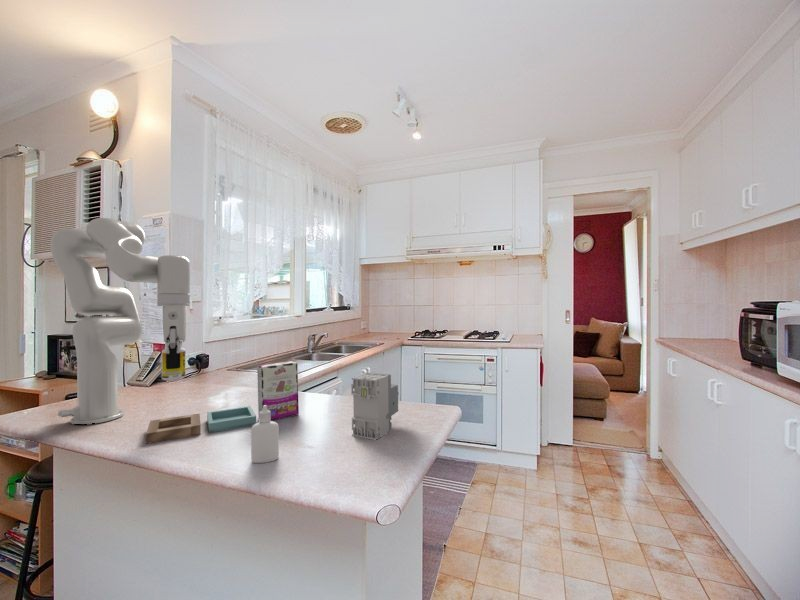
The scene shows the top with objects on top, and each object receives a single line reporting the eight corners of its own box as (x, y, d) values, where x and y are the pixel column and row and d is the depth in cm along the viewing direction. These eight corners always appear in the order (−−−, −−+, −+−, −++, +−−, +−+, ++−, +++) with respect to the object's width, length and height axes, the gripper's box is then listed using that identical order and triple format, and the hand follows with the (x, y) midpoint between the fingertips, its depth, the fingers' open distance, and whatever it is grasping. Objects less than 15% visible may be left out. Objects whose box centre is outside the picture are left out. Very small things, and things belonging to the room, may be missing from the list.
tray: (209, 432, 97) (209, 423, 97) (207, 420, 107) (207, 412, 107) (256, 424, 103) (256, 416, 103) (250, 413, 113) (250, 406, 113)
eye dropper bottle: (260, 454, 82) (259, 402, 82) (282, 456, 81) (281, 403, 81) (247, 462, 78) (247, 407, 78) (270, 465, 77) (270, 409, 77)
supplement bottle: (187, 379, 98) (187, 341, 98) (162, 382, 94) (162, 343, 94) (183, 375, 102) (183, 340, 102) (160, 378, 99) (160, 341, 99)
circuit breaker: (400, 422, 103) (400, 370, 103) (377, 440, 90) (376, 380, 90) (378, 419, 106) (377, 368, 106) (352, 435, 93) (351, 378, 93)
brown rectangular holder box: (145, 443, 90) (145, 433, 90) (150, 429, 100) (150, 420, 100) (200, 434, 96) (200, 424, 96) (199, 421, 106) (199, 413, 106)
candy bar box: (292, 411, 115) (292, 360, 115) (299, 415, 111) (298, 362, 112) (257, 418, 108) (256, 364, 108) (262, 423, 104) (261, 366, 105)
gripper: (189, 300, 93) (189, 370, 93) (189, 301, 108) (189, 361, 107) (154, 300, 89) (154, 373, 89) (159, 301, 104) (159, 363, 104)
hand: (173, 365), depth 98 cm, fingers closed on supplement bottle, 5 cm apart
